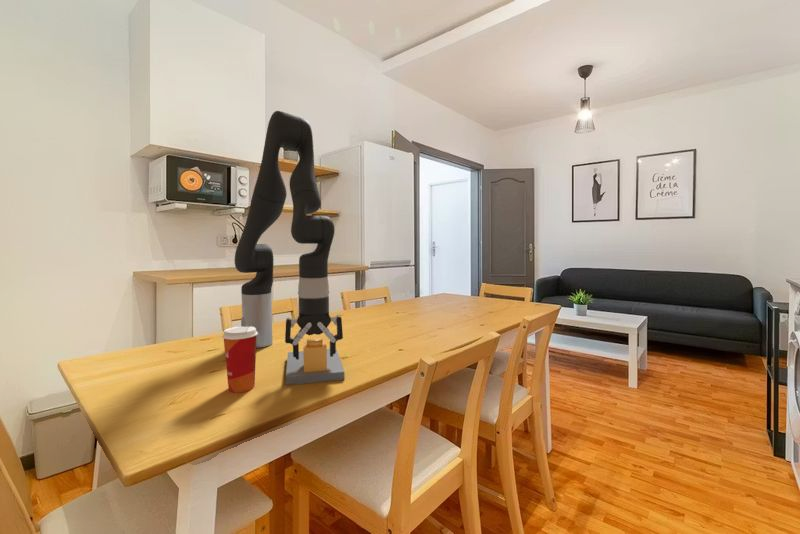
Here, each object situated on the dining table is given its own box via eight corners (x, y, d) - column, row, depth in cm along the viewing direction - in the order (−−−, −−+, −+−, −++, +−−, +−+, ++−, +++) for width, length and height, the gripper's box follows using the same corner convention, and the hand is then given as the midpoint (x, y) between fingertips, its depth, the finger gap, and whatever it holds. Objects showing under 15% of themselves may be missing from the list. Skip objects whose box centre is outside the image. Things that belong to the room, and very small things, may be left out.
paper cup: (233, 381, 91) (231, 325, 90) (264, 381, 91) (263, 325, 89) (216, 394, 83) (214, 333, 82) (250, 395, 83) (248, 333, 82)
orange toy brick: (303, 372, 92) (303, 343, 91) (303, 364, 97) (303, 337, 96) (326, 370, 93) (326, 342, 92) (325, 363, 98) (325, 336, 98)
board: (285, 385, 88) (285, 358, 88) (288, 359, 108) (287, 337, 107) (344, 379, 92) (344, 354, 92) (336, 355, 111) (336, 334, 111)
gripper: (340, 291, 99) (340, 350, 100) (284, 293, 95) (286, 355, 96) (343, 295, 92) (344, 359, 93) (283, 298, 88) (285, 364, 89)
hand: (314, 357), depth 95 cm, fingers open, 8 cm apart
